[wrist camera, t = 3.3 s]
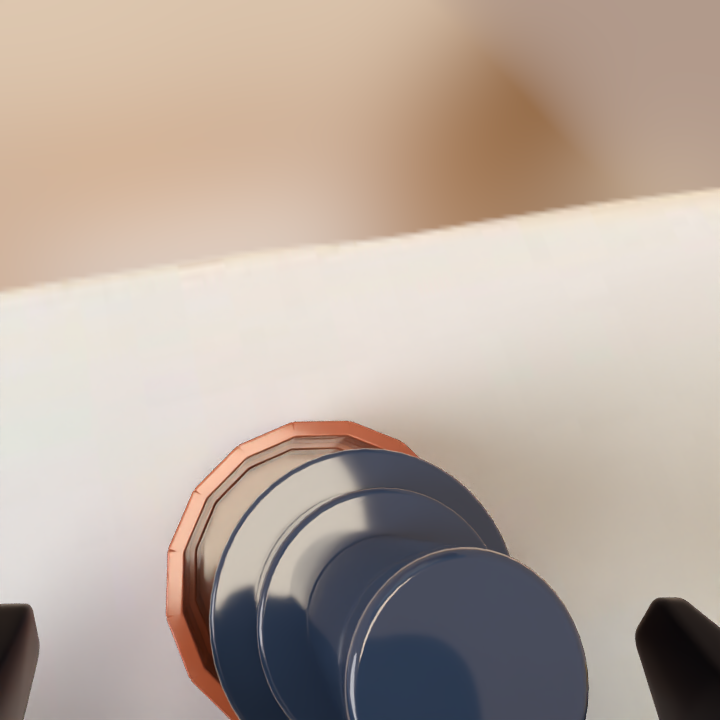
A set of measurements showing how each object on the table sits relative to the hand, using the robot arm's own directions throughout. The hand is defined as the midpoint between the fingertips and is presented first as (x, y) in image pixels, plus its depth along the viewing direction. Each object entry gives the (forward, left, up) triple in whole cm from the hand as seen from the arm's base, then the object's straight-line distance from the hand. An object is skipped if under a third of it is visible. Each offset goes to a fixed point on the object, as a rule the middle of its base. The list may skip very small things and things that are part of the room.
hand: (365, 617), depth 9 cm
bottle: (0, 0, -8) cm, 8 cm away
